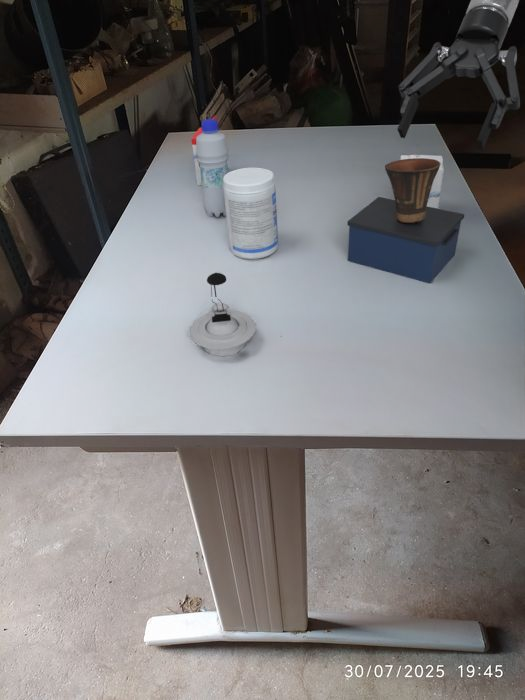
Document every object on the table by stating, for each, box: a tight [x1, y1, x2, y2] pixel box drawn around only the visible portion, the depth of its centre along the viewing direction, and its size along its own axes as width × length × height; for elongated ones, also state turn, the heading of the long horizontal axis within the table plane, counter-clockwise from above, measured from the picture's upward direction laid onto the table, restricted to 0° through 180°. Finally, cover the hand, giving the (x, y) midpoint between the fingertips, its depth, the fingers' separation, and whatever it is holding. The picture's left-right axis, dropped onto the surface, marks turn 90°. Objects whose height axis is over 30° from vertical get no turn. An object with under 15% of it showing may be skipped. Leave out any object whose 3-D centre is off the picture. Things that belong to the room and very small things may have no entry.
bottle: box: [196, 118, 230, 218], centre depth 114 cm, size 7×7×20 cm
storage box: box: [346, 196, 465, 284], centre depth 98 cm, size 17×13×8 cm
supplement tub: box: [223, 167, 279, 260], centre depth 102 cm, size 10×10×15 cm
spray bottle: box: [190, 114, 218, 187], centre depth 133 cm, size 8×5×15 cm, turn 172°
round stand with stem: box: [188, 272, 257, 357], centre depth 79 cm, size 12×10×10 cm
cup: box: [384, 158, 440, 223], centre depth 93 cm, size 9×9×10 cm
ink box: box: [399, 154, 445, 209], centre depth 111 cm, size 9×8×12 cm
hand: (439, 139), depth 90 cm, fingers open, 13 cm apart
